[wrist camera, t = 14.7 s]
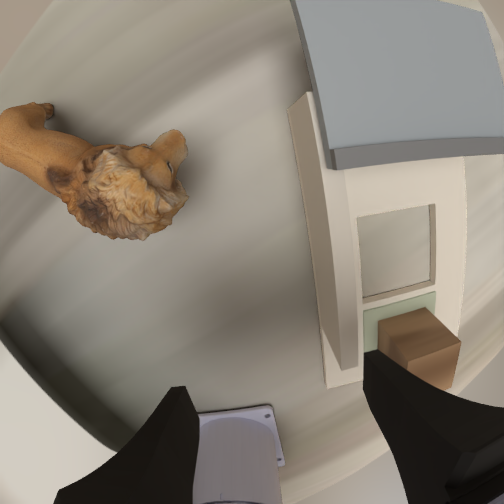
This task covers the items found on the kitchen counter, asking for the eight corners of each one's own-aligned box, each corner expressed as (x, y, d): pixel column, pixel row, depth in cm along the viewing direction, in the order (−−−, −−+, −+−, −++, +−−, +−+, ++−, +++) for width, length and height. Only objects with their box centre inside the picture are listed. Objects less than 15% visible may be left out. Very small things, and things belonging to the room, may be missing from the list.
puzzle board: (450, 343, 23) (484, 380, 17) (324, 382, 23) (342, 434, 18) (448, 100, 17) (502, 93, 11) (286, 110, 17) (306, 92, 12)
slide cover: (503, 151, 12) (520, 153, 11) (327, 168, 12) (337, 170, 11) (474, 15, 10) (488, 9, 8) (288, -3, 10) (294, -18, 9)
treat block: (421, 349, 22) (451, 387, 17) (376, 363, 22) (401, 406, 17) (425, 306, 20) (461, 341, 16) (377, 320, 20) (408, 361, 16)
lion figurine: (217, 144, 18) (197, 135, 9) (190, 228, 19) (152, 287, 11) (27, 98, 16) (-63, 86, 7) (10, 169, 17) (-80, 187, 9)
